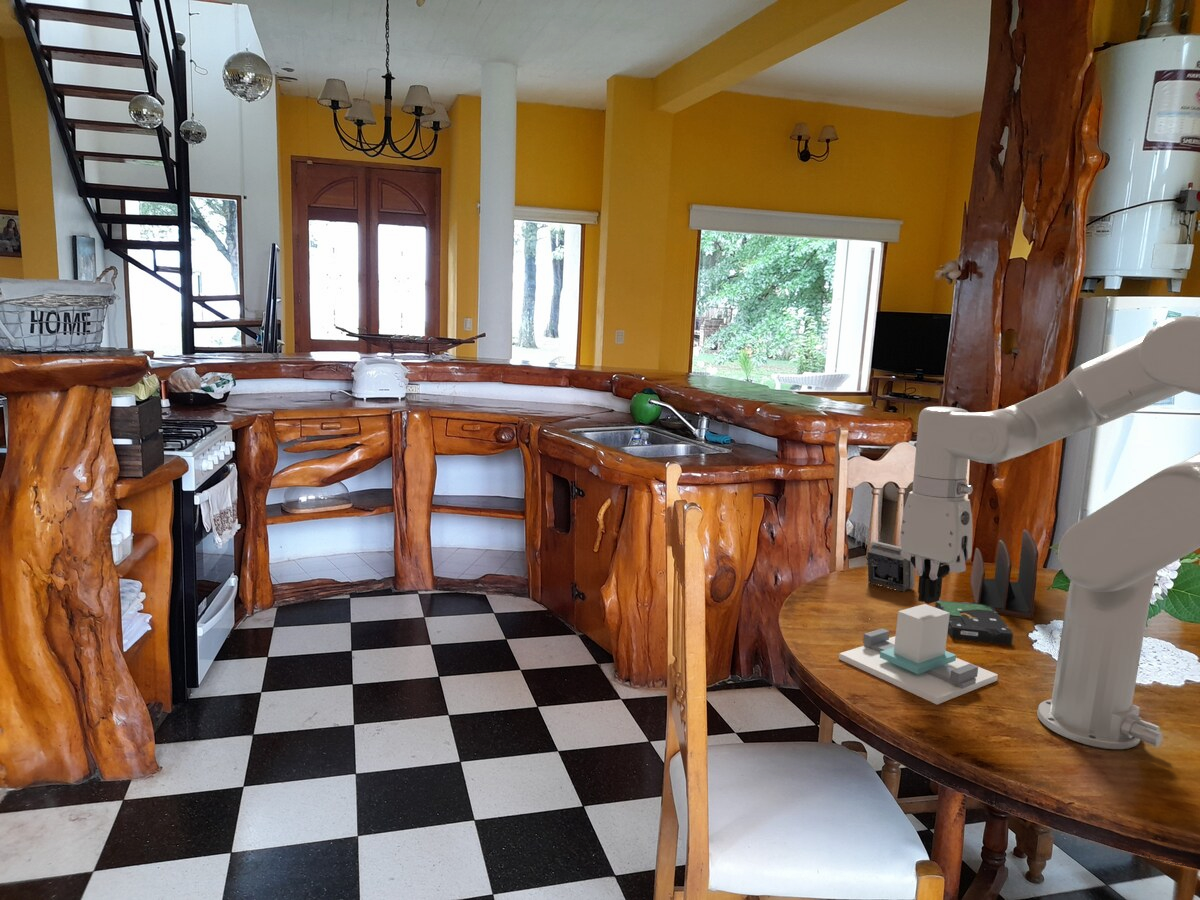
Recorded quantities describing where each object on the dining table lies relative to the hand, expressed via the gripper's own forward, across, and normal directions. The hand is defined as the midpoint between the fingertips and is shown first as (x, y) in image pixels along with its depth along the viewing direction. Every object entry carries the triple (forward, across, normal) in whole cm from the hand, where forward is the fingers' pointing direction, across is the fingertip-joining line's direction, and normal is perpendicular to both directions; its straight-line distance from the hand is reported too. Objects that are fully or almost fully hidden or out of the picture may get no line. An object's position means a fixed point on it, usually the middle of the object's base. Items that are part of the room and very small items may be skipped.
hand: (928, 600), depth 130 cm
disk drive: (+12, +7, -26) cm, 30 cm away
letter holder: (+12, +13, -46) cm, 49 cm away
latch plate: (+10, +1, 0) cm, 10 cm away
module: (+9, +1, 0) cm, 9 cm away
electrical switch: (+12, +29, -31) cm, 44 cm away
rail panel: (+12, +1, 0) cm, 12 cm away
